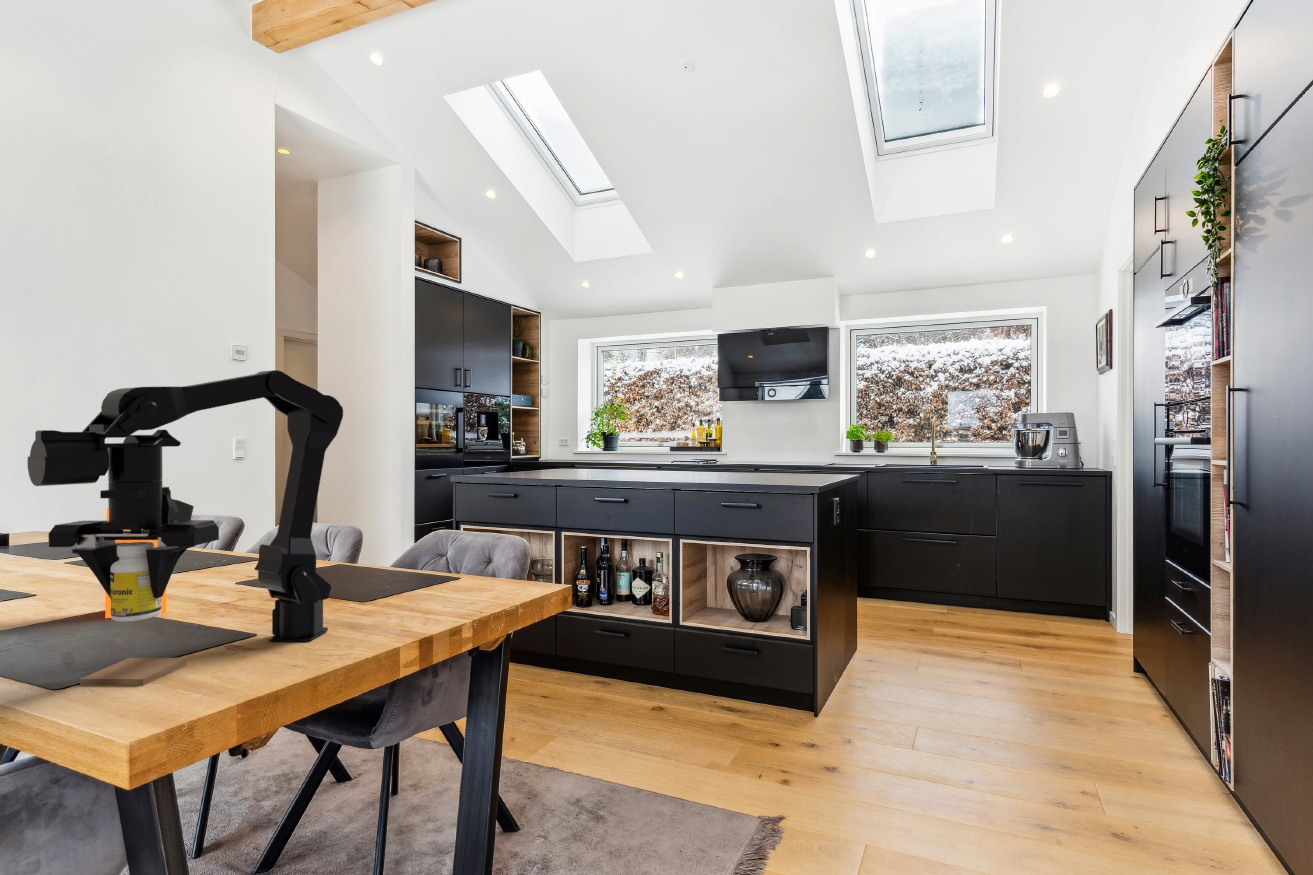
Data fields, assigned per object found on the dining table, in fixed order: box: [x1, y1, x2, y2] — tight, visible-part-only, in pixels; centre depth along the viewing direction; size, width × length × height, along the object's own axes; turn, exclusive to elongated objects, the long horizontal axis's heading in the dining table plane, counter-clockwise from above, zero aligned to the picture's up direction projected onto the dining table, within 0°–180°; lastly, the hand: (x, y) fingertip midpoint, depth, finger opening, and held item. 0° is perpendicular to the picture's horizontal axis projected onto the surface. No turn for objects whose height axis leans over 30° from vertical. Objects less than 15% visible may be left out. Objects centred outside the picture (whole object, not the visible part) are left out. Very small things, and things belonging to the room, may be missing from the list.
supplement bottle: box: [110, 542, 162, 622], centre depth 89 cm, size 5×5×10 cm
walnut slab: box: [79, 657, 188, 687], centre depth 89 cm, size 8×8×2 cm
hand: (136, 597), depth 89 cm, fingers closed on supplement bottle, 5 cm apart
